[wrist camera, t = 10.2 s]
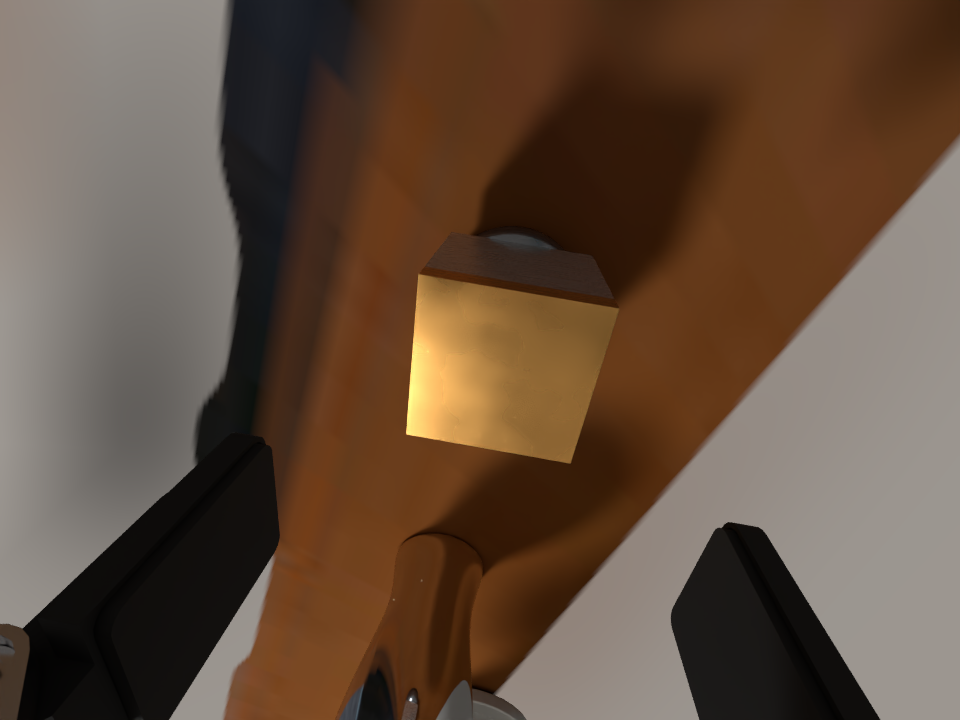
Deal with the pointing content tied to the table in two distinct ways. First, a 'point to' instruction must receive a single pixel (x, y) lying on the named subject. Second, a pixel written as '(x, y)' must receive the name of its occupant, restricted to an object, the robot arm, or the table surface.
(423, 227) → the table surface
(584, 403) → the wooden tan cube
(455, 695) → the beer glass
